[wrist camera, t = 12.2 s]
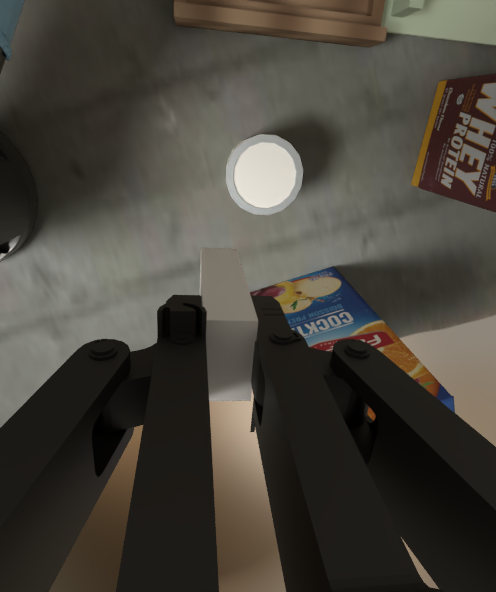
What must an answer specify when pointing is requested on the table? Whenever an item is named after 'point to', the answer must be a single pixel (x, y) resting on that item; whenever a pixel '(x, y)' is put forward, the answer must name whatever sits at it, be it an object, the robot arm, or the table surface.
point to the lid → (443, 19)
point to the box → (289, 19)
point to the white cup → (264, 174)
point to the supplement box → (461, 142)
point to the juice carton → (345, 322)
